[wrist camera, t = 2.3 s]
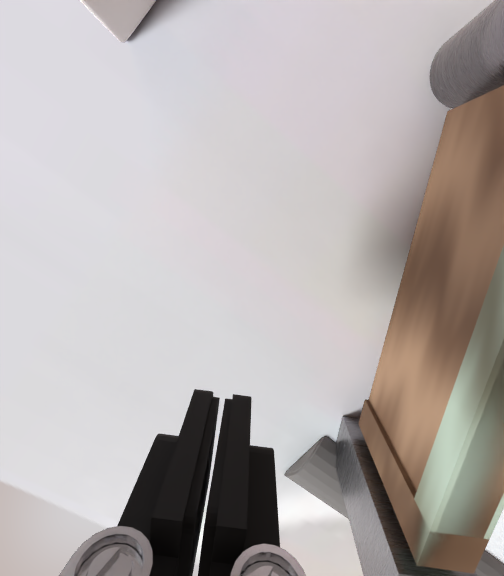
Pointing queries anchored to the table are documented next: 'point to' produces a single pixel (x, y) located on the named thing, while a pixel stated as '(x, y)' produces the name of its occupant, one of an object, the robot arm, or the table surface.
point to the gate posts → (350, 442)
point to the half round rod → (325, 485)
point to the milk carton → (119, 14)
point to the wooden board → (448, 353)
